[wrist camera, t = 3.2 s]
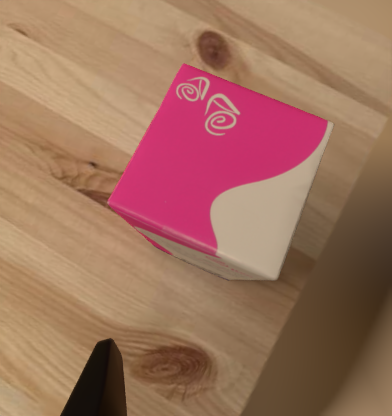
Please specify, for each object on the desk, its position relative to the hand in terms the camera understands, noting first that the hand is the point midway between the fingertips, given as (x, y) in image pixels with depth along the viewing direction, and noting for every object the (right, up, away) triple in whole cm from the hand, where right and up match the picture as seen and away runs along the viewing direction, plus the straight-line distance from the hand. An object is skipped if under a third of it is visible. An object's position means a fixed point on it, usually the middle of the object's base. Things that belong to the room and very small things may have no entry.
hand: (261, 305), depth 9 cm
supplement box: (-1, +2, +12) cm, 12 cm away
